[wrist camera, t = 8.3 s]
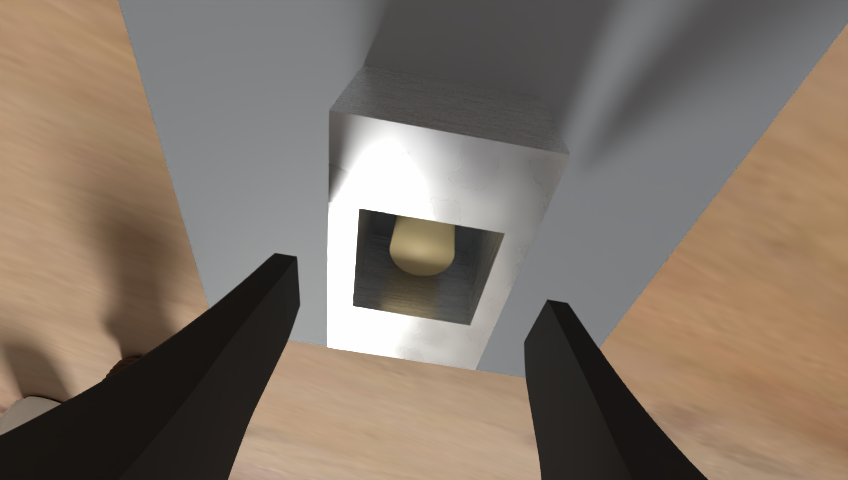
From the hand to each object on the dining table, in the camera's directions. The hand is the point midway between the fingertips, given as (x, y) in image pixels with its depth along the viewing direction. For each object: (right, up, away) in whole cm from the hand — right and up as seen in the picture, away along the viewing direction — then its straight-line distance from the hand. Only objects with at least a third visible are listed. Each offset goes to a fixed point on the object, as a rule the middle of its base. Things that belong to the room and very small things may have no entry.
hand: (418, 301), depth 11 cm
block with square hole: (0, +3, +3) cm, 5 cm away
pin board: (0, +4, +5) cm, 6 cm away
